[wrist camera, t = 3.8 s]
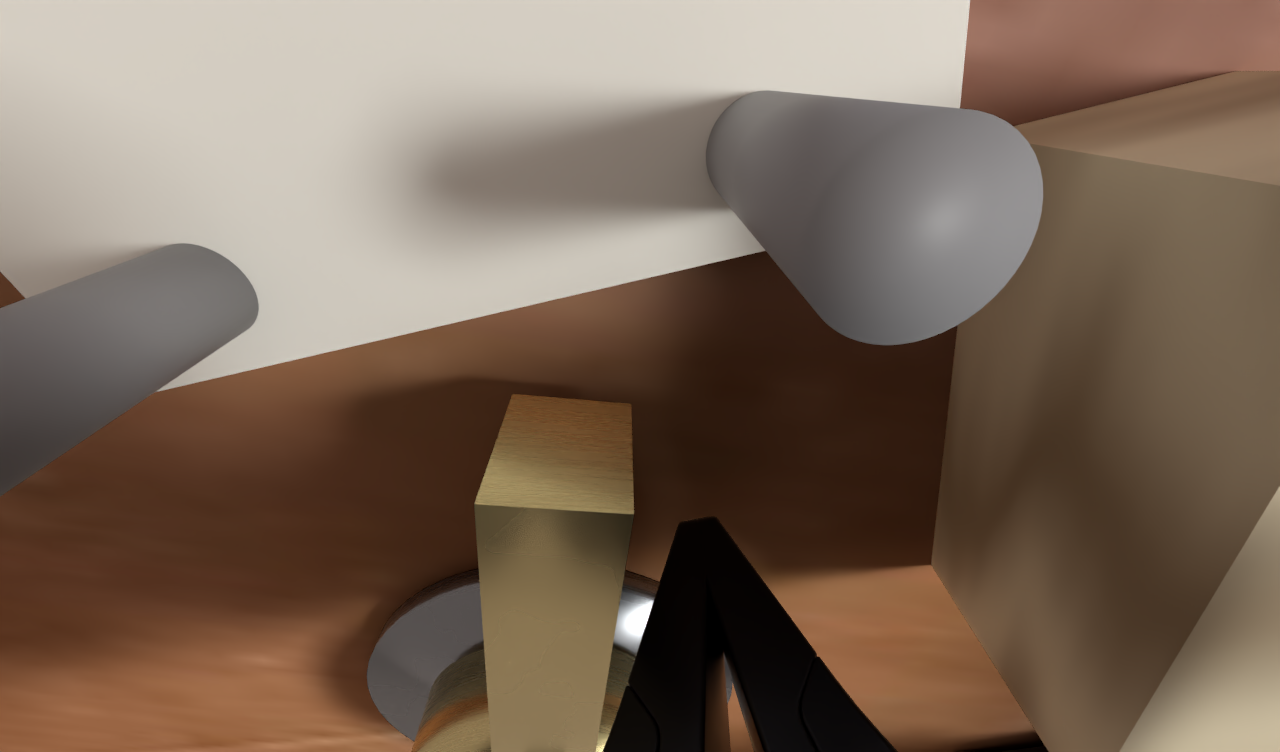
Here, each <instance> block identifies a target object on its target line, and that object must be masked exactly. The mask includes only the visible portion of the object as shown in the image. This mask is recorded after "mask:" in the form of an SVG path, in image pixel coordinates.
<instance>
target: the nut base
mask: <svg viewBox="0 0 1280 752" xmlns="http://www.w3.org/2000/svg"><path fill="white" fill-rule="evenodd" d="M658 586H659V583H658V582H656V581H654V580H651V579H649V578H646V577H643V576H640V575H637V574H634V573H631V572H627V571H625V573H624V580H623V586H622V592H621V598H620V604H619V610H618V617H617V623H616V629H615V635H614V641H613V647H612V648H613V649H616V650H619V651H622V652H625V653H627V654H629V655H631V656H633V657H636V654H637V650H638V647H639V644H640V641H641V638H642V635H643V632H644V629H645V626H646V623H647V620H648V617H649V613H650V610H651V607H652V604H653V601H654V598H655V595H656V592H657V589H658ZM481 649H484V639H483V625H482V610H481V596H480V581H479V569H476V570H471V571H467V572H464V573H461V574H458V575H455V576H452V577H450V578H447V579H444V580H442V581H440V582H438V583H436V584H434V585H431V586H429V587H427V588H425V589H423V590H422V591H420V592H419V593H417V594H416V595H414V596H413V597H411V598H410V599H408V600H407V601H406V602H405V603H404V604H403V605H402V606H400V607H399V608H398V609H397V610H396V611H395V612H394V613H393V615H392V616H391V617H390V619H389V620H388V621H387V623H386V624H385V626H384V628H383V630H382V632H381V635H380V637H379V639H378V641H377V644H376V646H375V648H374V650H373V653H372V655H371V657H370V660H369V664H368V670H367V682H368V689H369V692H370V695H371V698H372V700H373V702H374V703H375V705H376V707H377V708H378V710H379V712H380V713H381V714H382V715H383V716H384V717H385V718H386V720H387V721H388V722H389V723H390V724H391V725H393V726H394V727H395V728H396V729H397V730H398V731H400V732H401V733H402V734H404V735H405V736H407V737H408V738H410V739H411V740H413V741H415V738H416V735H417V732H418V729H419V725H420V722H421V719H422V716H423V713H424V709H425V706H426V703H427V700H428V697H429V693H430V690H431V688H432V686H433V683H434V681H435V680H436V678H437V677H438V676H439V675H440V673H441V672H442V671H443V670H445V669H446V668H447V667H448V666H449V665H450V664H452V663H454V662H455V661H457V660H458V659H460V658H462V657H464V656H466V655H468V654H470V653H472V652H475V651H478V650H481ZM724 665H725V679H726V693H727V704H728V701H729V699H730V696H731V691H732V683H733V681H732V678H731V675H730V671H729V668H728V665H727V662H726V658H725V655H724Z"/></svg>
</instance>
